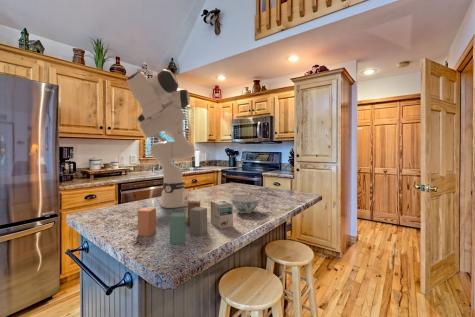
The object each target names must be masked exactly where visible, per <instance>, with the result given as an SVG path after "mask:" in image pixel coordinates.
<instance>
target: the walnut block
mask: <svg viewBox="0 0 475 317" xmlns="http://www.w3.org/2000/svg"><path fill="white" fill-rule="evenodd" d="M195 207H201V200H193V201H189V202H188V206H187V225H188V226H190V209H192V208H195Z"/></svg>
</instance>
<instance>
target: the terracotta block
mask: <svg viewBox="0 0 475 317" xmlns="http://www.w3.org/2000/svg"><path fill="white" fill-rule="evenodd" d="M156 233H157V208H156V207H145V206H144V208H140V209H138V210H137V236H141V237H142V236H144V237H151V236H152V235H154V234H156Z"/></svg>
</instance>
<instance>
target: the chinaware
mask: <svg viewBox="0 0 475 317" xmlns="http://www.w3.org/2000/svg"><path fill="white" fill-rule="evenodd" d="M231 201H232V202H231V203H233V207H234V208H235V209H236V210H237V211H239V214H242V213H250V214H252V213H251V212H252V211H254V210H255V209H256V208H257V207H258V205H259V203H260V202H259V201H260V197H259V196H255V195H254V196H253V195H237V196H233V197H232V198H231Z"/></svg>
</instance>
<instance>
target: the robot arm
mask: <svg viewBox="0 0 475 317" xmlns="http://www.w3.org/2000/svg"><path fill="white" fill-rule="evenodd" d="M126 84H127V86H128V89H129V91H130V93H131V94H132V96H133V97H134V99H135V100H136V101H137V102H138V103H139V105H140V109H141V110H142V111H141V112H140V114H139V115H138V117H137V118H136V121H137V123H138V124H139V126H140V129H141V131H142V133H143V134H144V136H145V137H146V138H148V139H150V138H152V137H155V138H156V139H157V140H160V141H157V142H154V143H152V145H151V147H150V155H151V157H152V158H153V159H154V160H155V161H157V162H158V163H159V164H160V166H161V168H162V172H163V174H162V175H163V183H162V189H163V190H162V191H161V196H160V197H161V198H160V202H159V205H160V206H161V207H162V208H166V209H167V208H168V209H170V208H171V209H172V208H173V209H174V208H184V207H188V202H189V201H194V199H191V198H190V193H189V191H188V190H187V189H186V188H185V186H186V183H187V182H186V181H183V168H182V167H180V166H178V165H177V164H174V163H173V161H175V160H176V161H178V160H179V161H181V160H183V161H184V160H188V159H192V158H193V157H194V155H195V147H194V145H193V144H192V143H191V142H190V141H189V140H188V139H187V138H186V136H185V134H184V120H185V119H186V115H185V113H184V111H183V110H185V109H186V108H187V106H188V105H189V104H190V100H191V97H190V93H189V91H188V90H187V89H184V88H181V89H180V88H179V82H178V79H177V77H176V75H175V74H174V73H173V72H172V71H171V70H167V69H162V70H161V71H159V72H158V73H157V74H156V75H154V76H152V77H151V78H150V77H149V78H148V77H147V76H146V75H145V73H144V72H142V71H137V72H135V73H133V74H132V75H130V76H128V77H127V78H126ZM163 131H164V133H165V135H166V136H167V137H168V138H170V139H172V140H173V141H167V140H166V138H165V137H163V136H160V135H161V134H160V132H163Z"/></svg>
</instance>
